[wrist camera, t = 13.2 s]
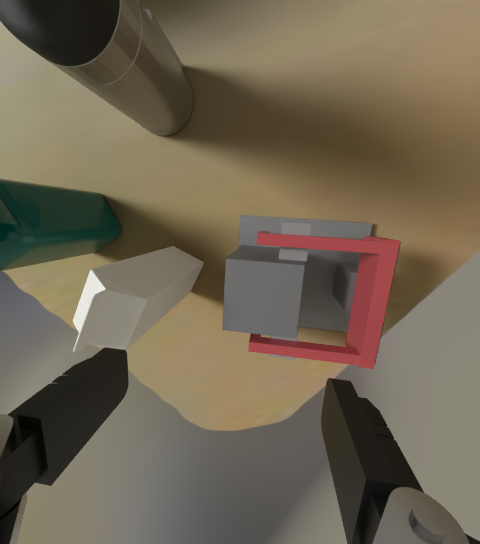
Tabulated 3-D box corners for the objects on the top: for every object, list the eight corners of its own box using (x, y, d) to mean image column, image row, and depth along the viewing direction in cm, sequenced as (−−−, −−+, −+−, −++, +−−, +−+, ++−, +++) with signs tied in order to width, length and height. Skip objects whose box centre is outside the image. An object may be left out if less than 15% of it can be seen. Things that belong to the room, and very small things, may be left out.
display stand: (369, 223, 35) (429, 226, 22) (350, 329, 39) (391, 389, 26) (241, 215, 38) (222, 213, 24) (235, 316, 41) (216, 365, 28)
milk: (204, 262, 40) (129, 313, 19) (190, 292, 42) (104, 371, 20) (172, 245, 40) (60, 276, 19) (159, 276, 42) (41, 337, 20)
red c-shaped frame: (382, 237, 28) (404, 241, 23) (361, 345, 31) (377, 369, 26) (260, 228, 30) (257, 231, 25) (252, 332, 33) (248, 352, 28)
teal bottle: (90, 256, 43) (-92, 295, 21) (62, 213, 42) (-159, 209, 20) (132, 229, 40) (-23, 242, 19) (104, 183, 39) (-94, 142, 18)
